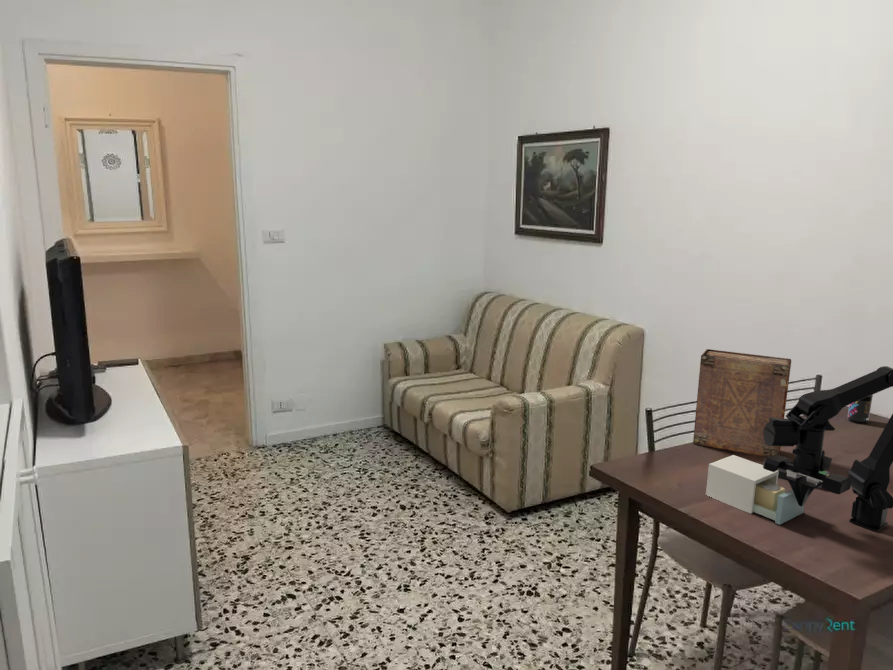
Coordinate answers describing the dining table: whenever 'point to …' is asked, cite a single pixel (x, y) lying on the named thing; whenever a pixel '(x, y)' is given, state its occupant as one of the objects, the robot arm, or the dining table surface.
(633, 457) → the dining table surface
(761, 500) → the dome button cube
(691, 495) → the dining table surface
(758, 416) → the book
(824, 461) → the robot arm
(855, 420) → the supplement container
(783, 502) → the tray
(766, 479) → the panel
